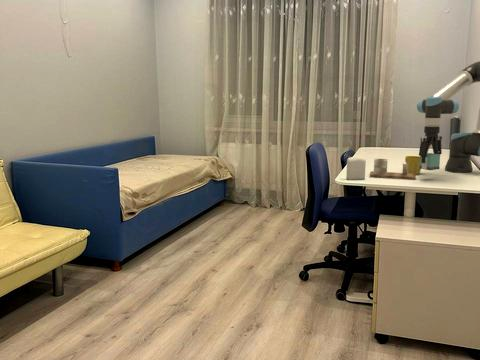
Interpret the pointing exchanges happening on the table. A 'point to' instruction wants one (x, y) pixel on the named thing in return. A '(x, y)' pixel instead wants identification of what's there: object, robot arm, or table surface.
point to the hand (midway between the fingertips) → (429, 168)
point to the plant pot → (413, 164)
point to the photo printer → (356, 168)
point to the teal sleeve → (431, 161)
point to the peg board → (381, 172)
